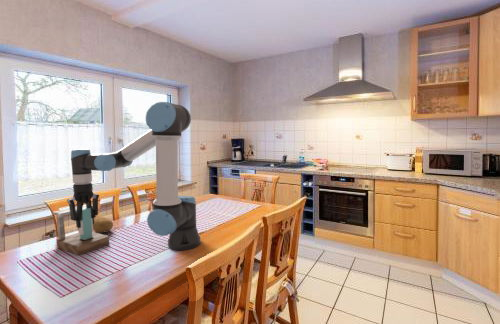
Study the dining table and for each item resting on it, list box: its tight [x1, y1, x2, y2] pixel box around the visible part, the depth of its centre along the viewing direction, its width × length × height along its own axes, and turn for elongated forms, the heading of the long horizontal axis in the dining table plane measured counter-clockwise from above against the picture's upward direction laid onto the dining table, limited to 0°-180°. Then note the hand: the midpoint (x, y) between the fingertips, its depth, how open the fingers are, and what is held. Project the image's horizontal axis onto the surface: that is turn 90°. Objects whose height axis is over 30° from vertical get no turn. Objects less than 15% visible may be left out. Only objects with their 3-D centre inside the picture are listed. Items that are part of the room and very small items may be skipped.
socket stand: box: [52, 204, 110, 256], centre depth 129 cm, size 18×15×17 cm
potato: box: [93, 215, 114, 234], centre depth 148 cm, size 10×14×8 cm
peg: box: [80, 207, 92, 240], centre depth 127 cm, size 4×4×14 cm
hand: (86, 232), depth 127 cm, fingers closed on peg, 4 cm apart
